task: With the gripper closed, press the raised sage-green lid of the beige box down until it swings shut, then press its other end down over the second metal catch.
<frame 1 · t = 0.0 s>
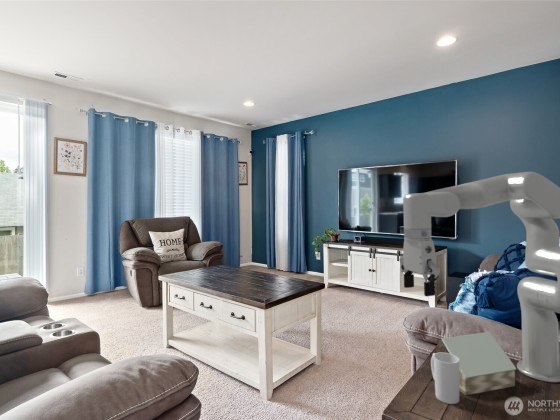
hand: (418, 291, 97), 31 cm above the table, tool pointing down, fingers open, 9 cm apart
beige box: (474, 380, 104), on the table
lid: (477, 353, 102), point 9 cm above the table, hinge at 40.0°
mug: (443, 395, 97), on the table
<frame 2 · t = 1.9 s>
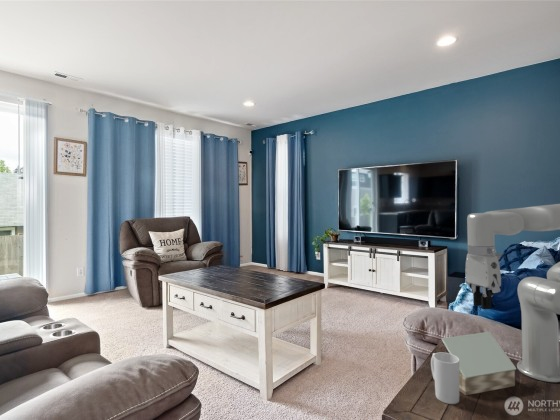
hand: (482, 306, 106), 23 cm above the table, tool pointing down, fingers closed
nothing on the table moved.
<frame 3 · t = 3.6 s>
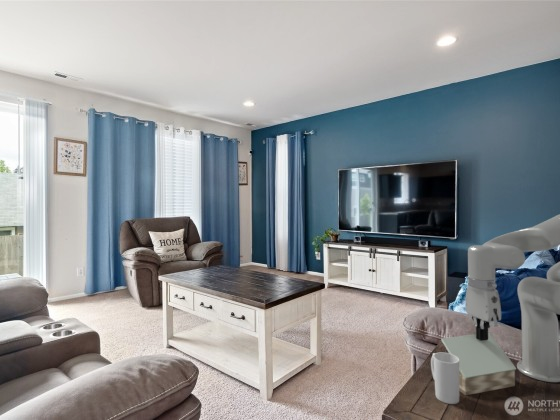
hand: (482, 339, 106), 12 cm above the table, tool pointing down, fingers closed
lid: (477, 353, 102), point 9 cm above the table, hinge at 38.9°, touching gripper
everything else where it was.
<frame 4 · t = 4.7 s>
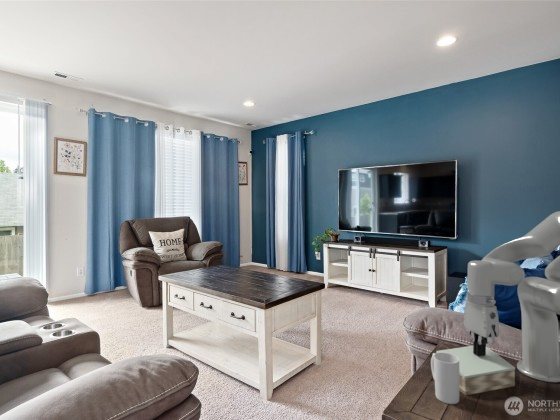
hand: (479, 354, 106), 7 cm above the table, tool pointing down, fingers closed
lid: (474, 360, 104), point 7 cm above the table, hinge at 10.4°, touching gripper
everything else where it was.
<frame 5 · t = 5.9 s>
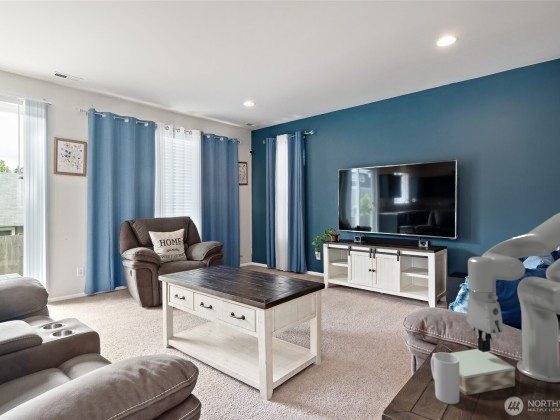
hand: (484, 350, 106), 9 cm above the table, tool pointing down, fingers closed
lid: (473, 362, 104), point 6 cm above the table, hinge at 3.1°
everything else where it was.
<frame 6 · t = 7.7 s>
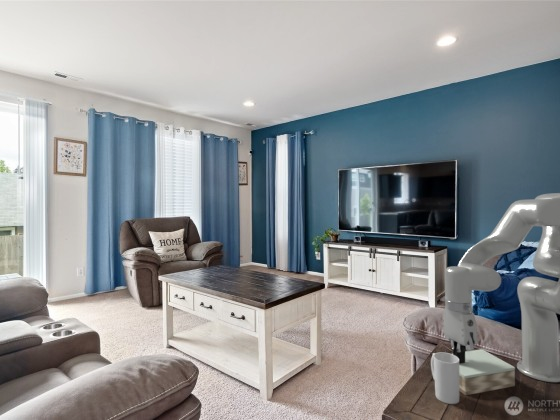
hand: (459, 362, 104), 6 cm above the table, tool pointing down, fingers closed
lid: (473, 362, 104), point 6 cm above the table, hinge at 1.5°, touching gripper
everything else where it was.
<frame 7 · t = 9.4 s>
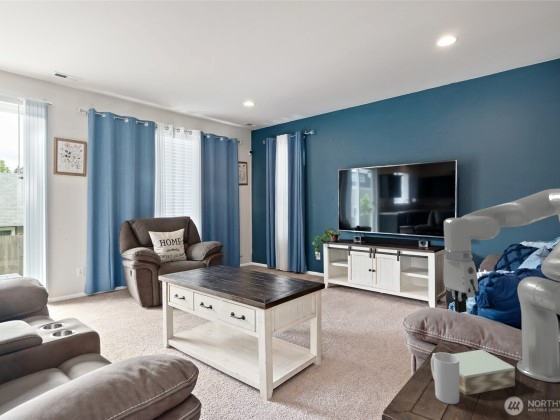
hand: (460, 311, 105), 22 cm above the table, tool pointing down, fingers closed
lid: (473, 363, 104), point 5 cm above the table, hinge at 0.9°
everything else where it was.
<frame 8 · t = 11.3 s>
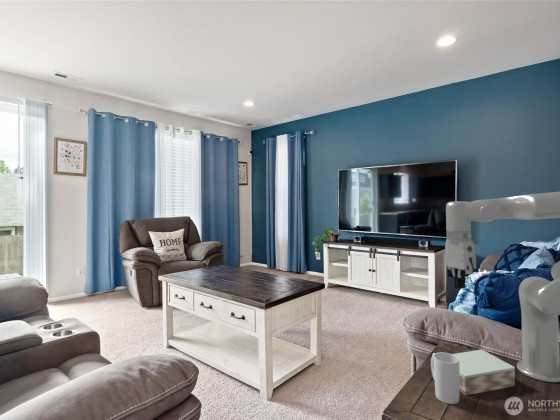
hand: (459, 287, 114), 27 cm above the table, tool pointing down, fingers closed
nothing on the table moved.
at the end: lid at +1° (first picture: +40°); mug moved 0.2 cm from its start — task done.
